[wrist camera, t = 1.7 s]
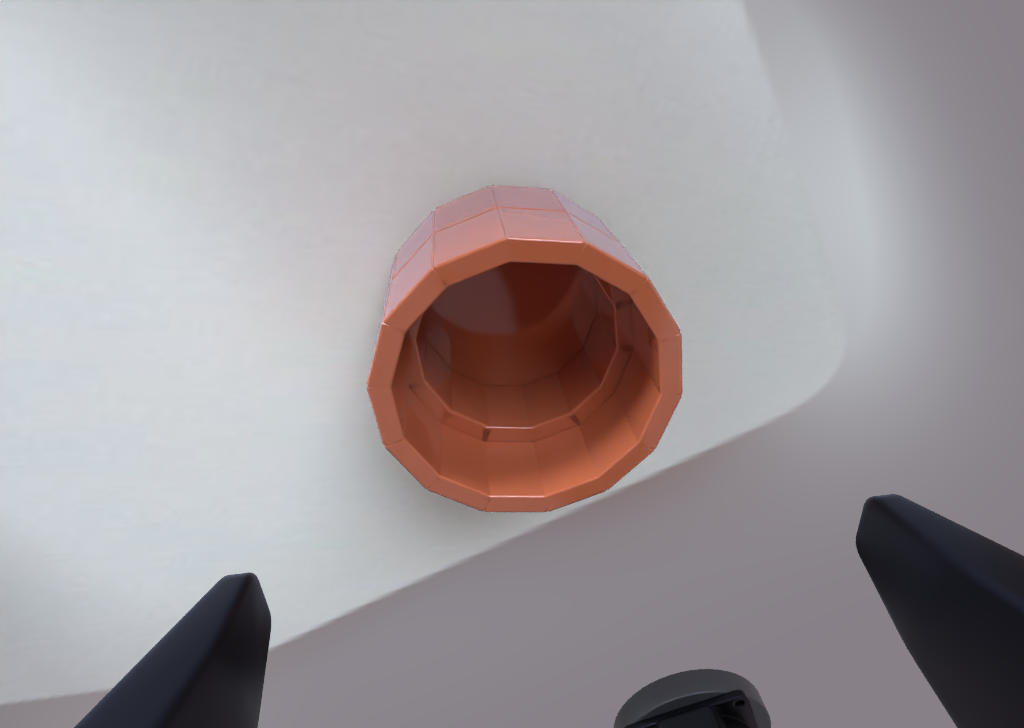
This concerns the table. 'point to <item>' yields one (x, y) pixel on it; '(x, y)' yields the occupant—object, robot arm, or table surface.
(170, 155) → the table surface
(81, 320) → the table surface
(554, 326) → the terracotta flower pot
